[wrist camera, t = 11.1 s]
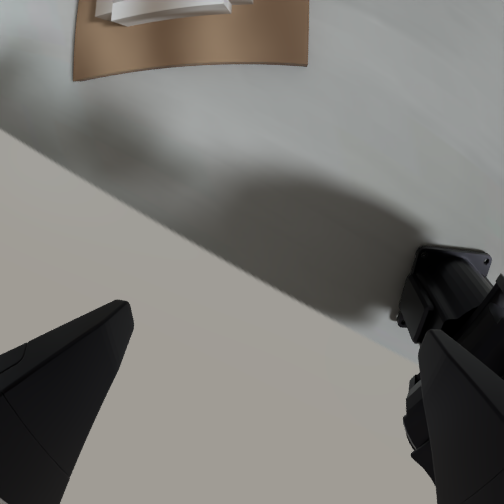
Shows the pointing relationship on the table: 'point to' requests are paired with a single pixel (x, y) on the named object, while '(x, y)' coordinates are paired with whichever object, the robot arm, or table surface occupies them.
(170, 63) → the wooden board with frame
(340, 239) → the table surface
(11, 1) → the table surface
